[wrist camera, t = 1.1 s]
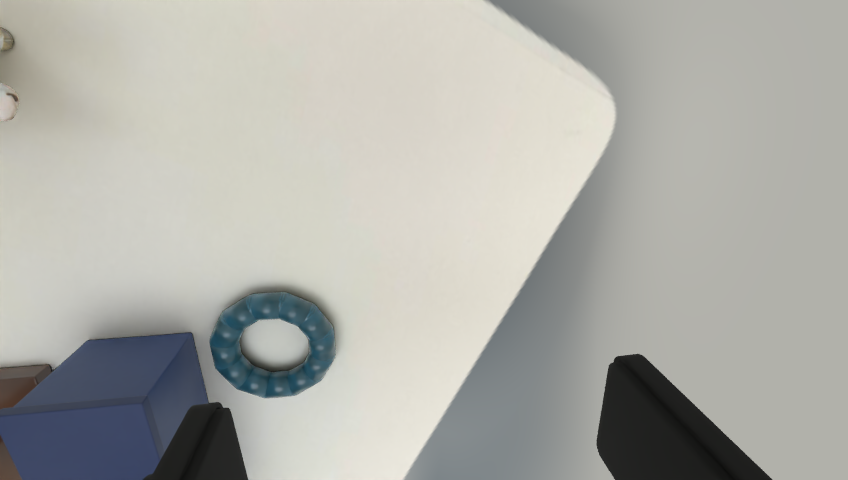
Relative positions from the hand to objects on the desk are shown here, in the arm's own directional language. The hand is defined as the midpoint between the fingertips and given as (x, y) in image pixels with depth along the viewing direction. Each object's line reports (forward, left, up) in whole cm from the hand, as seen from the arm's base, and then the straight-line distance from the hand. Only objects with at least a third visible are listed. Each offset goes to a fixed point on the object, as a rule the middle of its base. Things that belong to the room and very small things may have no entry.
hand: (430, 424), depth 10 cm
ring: (+7, -8, -15) cm, 18 cm away
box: (+12, -16, -16) cm, 25 cm away
